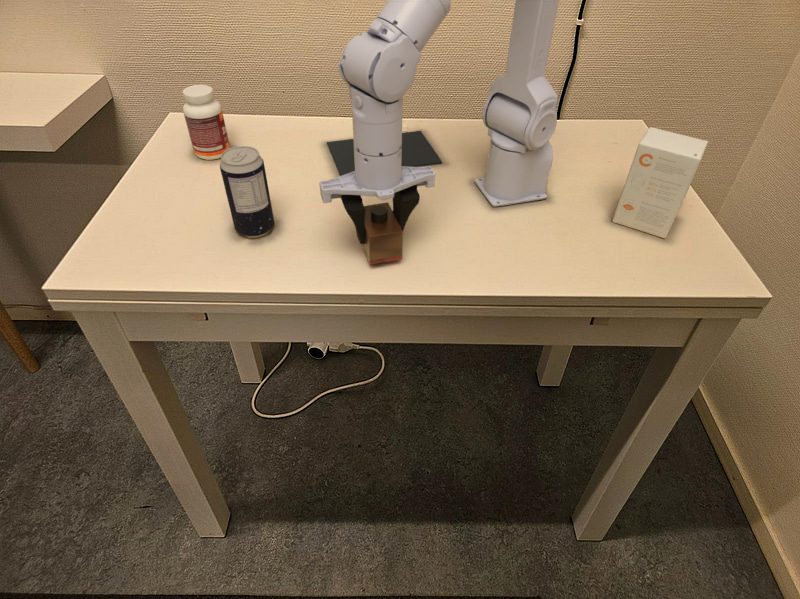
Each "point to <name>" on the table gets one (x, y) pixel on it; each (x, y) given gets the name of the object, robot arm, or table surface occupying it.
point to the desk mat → (413, 152)
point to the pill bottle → (205, 122)
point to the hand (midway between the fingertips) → (379, 236)
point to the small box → (658, 181)
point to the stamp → (382, 234)
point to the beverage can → (247, 191)
